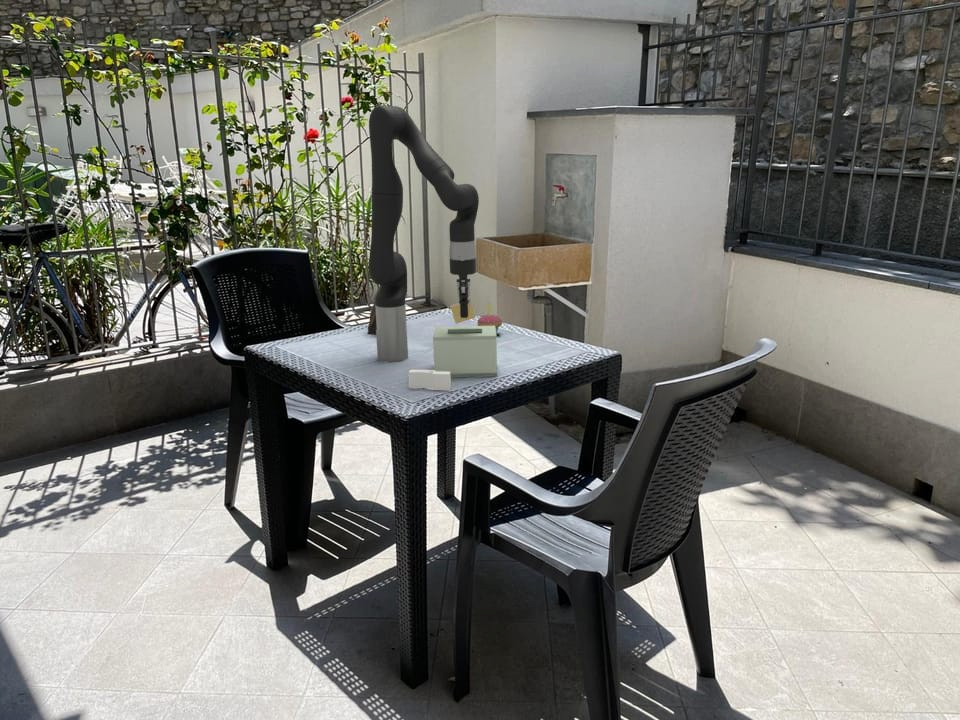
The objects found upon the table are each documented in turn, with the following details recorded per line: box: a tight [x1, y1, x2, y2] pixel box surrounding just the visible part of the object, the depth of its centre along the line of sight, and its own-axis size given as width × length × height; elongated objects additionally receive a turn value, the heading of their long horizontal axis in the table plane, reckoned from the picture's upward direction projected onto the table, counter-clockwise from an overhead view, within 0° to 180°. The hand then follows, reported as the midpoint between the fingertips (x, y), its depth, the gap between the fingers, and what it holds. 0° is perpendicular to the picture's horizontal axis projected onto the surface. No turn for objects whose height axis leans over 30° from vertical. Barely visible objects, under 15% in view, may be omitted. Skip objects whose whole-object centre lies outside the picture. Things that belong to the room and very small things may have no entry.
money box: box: [432, 325, 498, 378], centre depth 218 cm, size 18×12×12 cm, turn 91°
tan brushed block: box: [449, 299, 477, 325], centre depth 215 cm, size 5×3×6 cm
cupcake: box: [477, 299, 503, 335], centre depth 257 cm, size 9×8×12 cm
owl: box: [367, 286, 380, 336], centre depth 262 cm, size 13×13×20 cm
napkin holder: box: [408, 369, 452, 391], centre depth 203 cm, size 15×11×6 cm
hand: (464, 315), depth 215 cm, fingers closed on tan brushed block, 2 cm apart
